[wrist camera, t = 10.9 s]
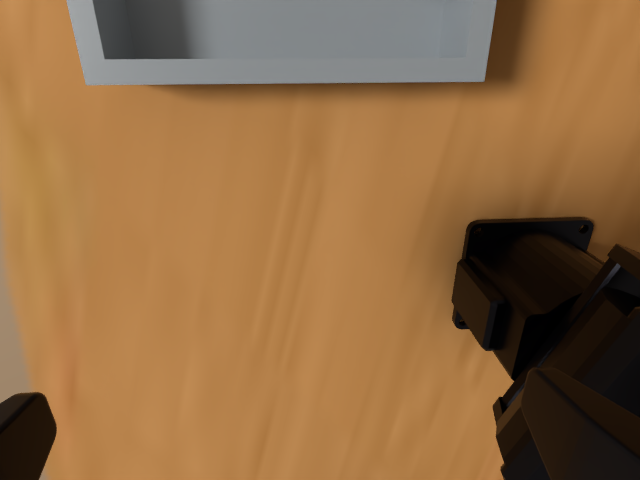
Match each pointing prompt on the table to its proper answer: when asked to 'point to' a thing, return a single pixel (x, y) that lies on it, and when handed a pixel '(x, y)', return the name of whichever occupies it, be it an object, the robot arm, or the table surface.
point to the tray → (281, 41)
